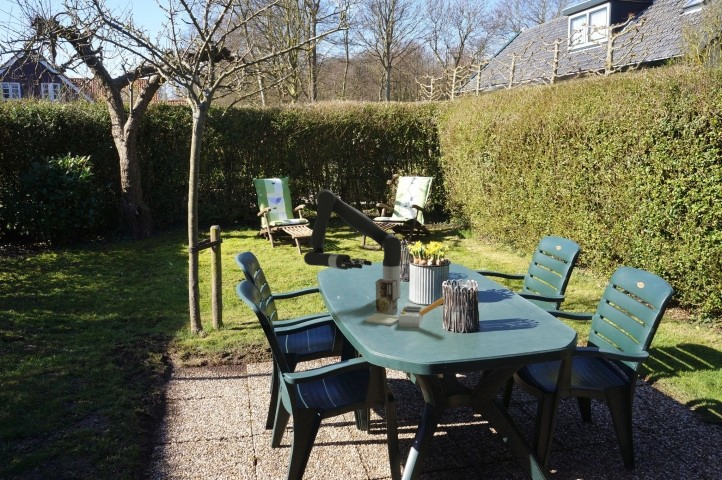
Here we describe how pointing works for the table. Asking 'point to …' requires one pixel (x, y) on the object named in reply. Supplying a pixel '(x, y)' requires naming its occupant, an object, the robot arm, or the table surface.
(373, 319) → the white shallow tray
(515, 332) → the table surface
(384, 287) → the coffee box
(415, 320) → the silver box
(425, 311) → the lever
